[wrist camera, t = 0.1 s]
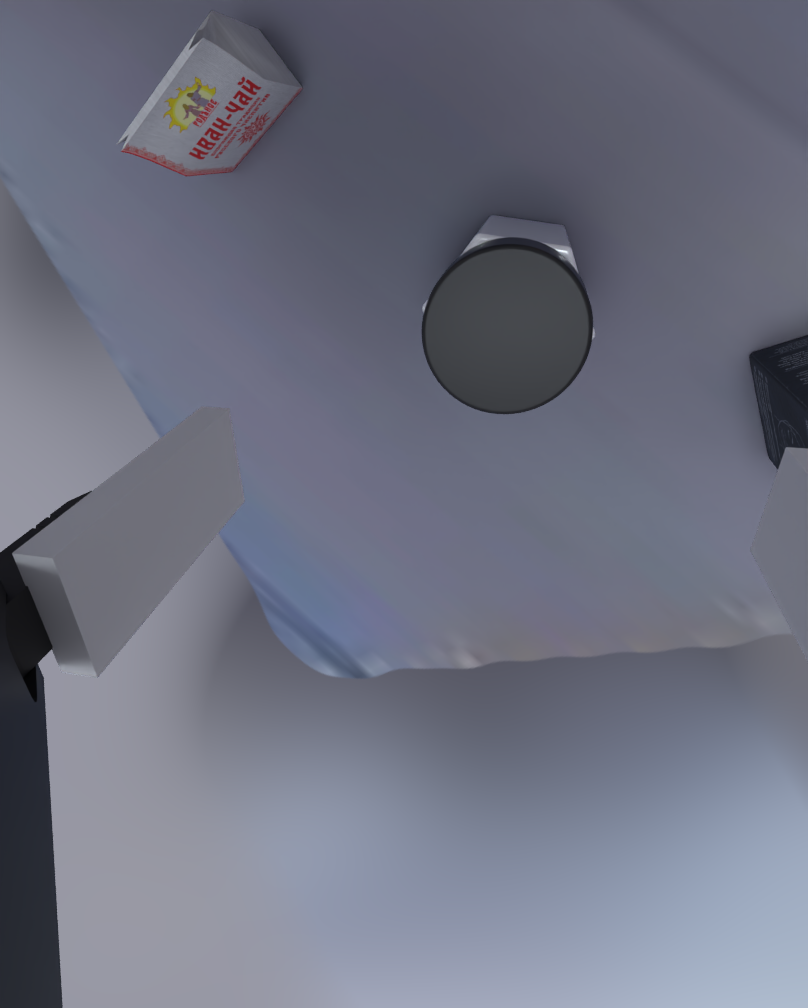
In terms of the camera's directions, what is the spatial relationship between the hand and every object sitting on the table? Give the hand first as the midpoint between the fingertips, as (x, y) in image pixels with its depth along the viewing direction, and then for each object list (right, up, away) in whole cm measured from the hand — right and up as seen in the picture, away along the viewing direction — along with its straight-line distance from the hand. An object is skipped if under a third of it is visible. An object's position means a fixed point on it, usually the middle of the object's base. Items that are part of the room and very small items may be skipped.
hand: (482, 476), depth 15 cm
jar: (+5, +13, +24) cm, 28 cm away
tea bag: (-12, +24, +22) cm, 34 cm away
